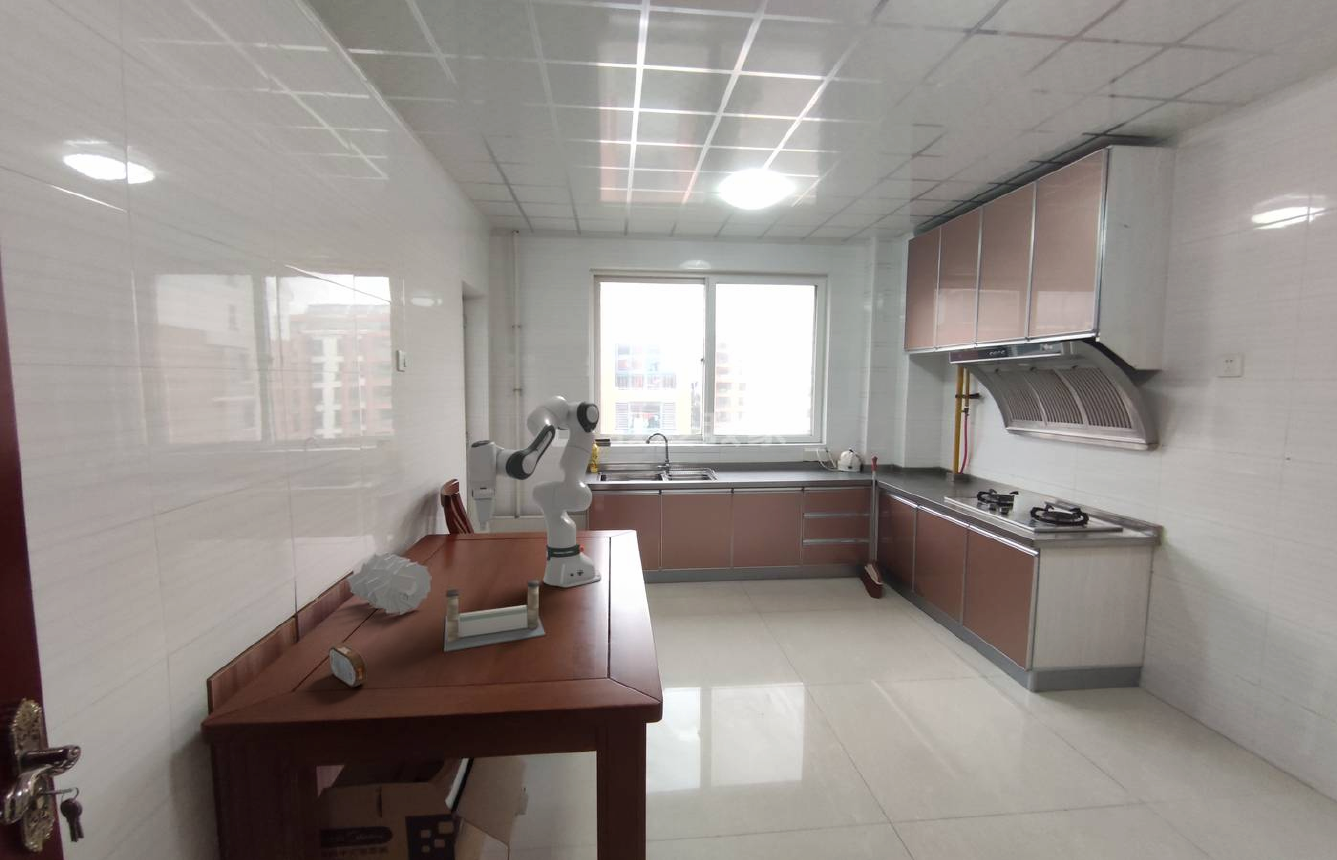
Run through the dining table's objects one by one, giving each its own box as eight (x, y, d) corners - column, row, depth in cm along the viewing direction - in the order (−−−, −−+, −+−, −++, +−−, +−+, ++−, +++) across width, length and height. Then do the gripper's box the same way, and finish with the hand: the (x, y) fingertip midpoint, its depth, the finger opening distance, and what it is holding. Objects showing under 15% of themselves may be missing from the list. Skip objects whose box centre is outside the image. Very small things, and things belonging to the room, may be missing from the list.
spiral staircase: (385, 606, 184) (425, 620, 170) (336, 599, 170) (375, 613, 157) (405, 555, 190) (445, 564, 176) (359, 545, 177) (398, 554, 163)
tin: (368, 687, 126) (367, 654, 125) (354, 693, 123) (354, 659, 122) (340, 669, 134) (339, 637, 134) (326, 674, 131) (326, 642, 131)
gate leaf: (526, 625, 159) (526, 604, 158) (526, 627, 157) (526, 607, 157) (460, 634, 152) (460, 613, 151) (460, 637, 150) (460, 615, 150)
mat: (534, 605, 176) (534, 604, 176) (545, 635, 154) (545, 633, 154) (445, 617, 166) (445, 616, 166) (444, 651, 144) (444, 650, 143)
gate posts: (538, 625, 161) (538, 579, 160) (539, 630, 158) (539, 583, 157) (446, 639, 151) (446, 590, 150) (446, 644, 148) (445, 594, 147)
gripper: (471, 484, 180) (472, 523, 181) (473, 494, 161) (473, 538, 162) (490, 483, 182) (490, 521, 183) (494, 493, 163) (494, 536, 164)
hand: (482, 529), depth 172 cm, fingers closed
